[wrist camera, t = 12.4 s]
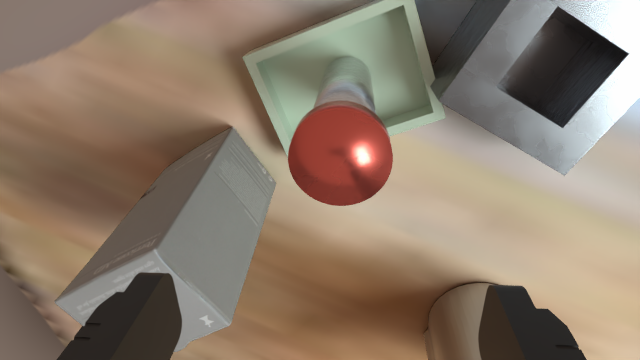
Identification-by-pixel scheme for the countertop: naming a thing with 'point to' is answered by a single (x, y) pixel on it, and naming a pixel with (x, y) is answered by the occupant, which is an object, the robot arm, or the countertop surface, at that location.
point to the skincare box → (186, 237)
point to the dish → (356, 41)
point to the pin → (342, 139)
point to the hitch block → (544, 72)
